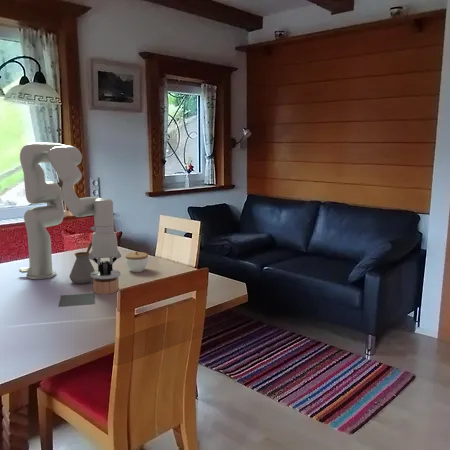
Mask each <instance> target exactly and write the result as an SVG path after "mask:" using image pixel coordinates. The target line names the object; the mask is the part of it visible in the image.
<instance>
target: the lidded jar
mask: <svg viewBox="0 0 450 450" xmlns="http://www.w3.org/2000/svg"><path fill="white" fill-rule="evenodd" d="M124 259H125V264H126V266H127V267H126V268H127V269H129V271H130V272H132V273H133V272H134V273H139V272H143V271H144V270H145V268H146V267H147V266H148V263H149V262H148V260H149V254H148V253H146V252H142V251H141V252H140V251H137V250H135V252H128V253H126V254H125V258H124Z"/></svg>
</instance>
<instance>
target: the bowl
mask: <svg viewBox="0 0 450 450" xmlns="http://www.w3.org/2000/svg"><path fill="white" fill-rule="evenodd" d="M92 284H93V285H92V286H93V287H92V288H93V293H96V294H101V295H102V294H103V295H104V294H105V295H106V294H112V293H116V292H118V291H119V290H120V289H119V277H117V278H113V279H106V280H99V279H93V282H92Z"/></svg>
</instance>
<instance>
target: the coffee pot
mask: <svg viewBox="0 0 450 450" xmlns="http://www.w3.org/2000/svg"><path fill="white" fill-rule="evenodd" d="M90 250H92V241H91V242H89V245H88V247H87V250H86V251H79V252H75V253H74V256H75V257H76V258H75V262H74V264H73V266H72V268H71V270H70V274H69V279H70V280H71V282H73V284H76V285H85V284H93V278H91V277H90V274H91V273H92V272H94V271H96V270H95V269H94V266H93V264H92V261H91V259H89V258H88V257H89V255H90V253H91V251H90Z"/></svg>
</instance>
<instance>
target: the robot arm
mask: <svg viewBox="0 0 450 450" xmlns="http://www.w3.org/2000/svg"><path fill="white" fill-rule="evenodd" d="M82 159H83V156H82V153H81V151H80V150H79V149H78V148H77V147H76V146H73V145H66V144H62V143H57V142H30V143H27V144H25V145H23V147H21V149H20V152H19V161H20V164H21V168H22V172H23V180H24V181H23V183H24V192H25V199H26V201H27V202H28V203H29V204H30V205H31V204H32V205H39V204H40V205H41V204H46V205H42V206H35V207H30V208H28V209H27V210H26V211H25V212H24V215H23V222H24V224H25V225H24V226H25V228H26V235H27V246H28V259H29V260H28V261H29V265H28V266H27V267H19V268H18V269H19V271H18V272H19V273H21V274H25V273H26V275H25V276H26V278H27V279H31V280H45V279H51V278H53V277H55V276H56V275H57V272H56V271H55V270H54V269H53V258H52V257H53V256H52V240H51V239H52V238H51V235H50V233H49V231H48V230H47V228H49V227H54V226H58V225H60V224H62V222H63V220H64V205H65V207H66V208H67V210H68V211H69V212H70V213H71V215H72V216H74V217H76V218H83V217H89V216H93V221H94V225H93V226H90V230H91V231H93V232H92V236H91V242H92V246H91V251H90V252H89V253H90V255H89V257H88V258H89V260H90V261H93V262H94V263H96V264H97V267H98V268H97V271H98V272H100V274H102V264H101V262H102V260H101V259H105V258H108V259H109V273H110V274H111V271H113V270H114V268H113V264H114V263H115V262H116V261H117V260H118V259H120V258H122V254H121V251H119V247H118V238H117V237H118V236H117V233H116V232H115V227H114V202H113V201H114V200H112V199H110V198H102V197H98V196H87V197H80V198H79V196H78V195H77V194H76V193H77V192H76V191H75V190H74V186H75V185H76V184H77V183H79V182H80V180H81V179H82V176H83V174H82V172H81V170H80V168H79V165H80V164H81V163H82ZM40 163H41V164H42V163H50V164H51V166H52V168H53V170H55V172H56V174H57V176H58V177H59V179H60V181H61V182H62V187H60V185H59V184H58V183H57V182H55V181H46V177H45V174H46V173H45V171H44V169H43V167H42V166H41V165H40Z"/></svg>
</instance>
